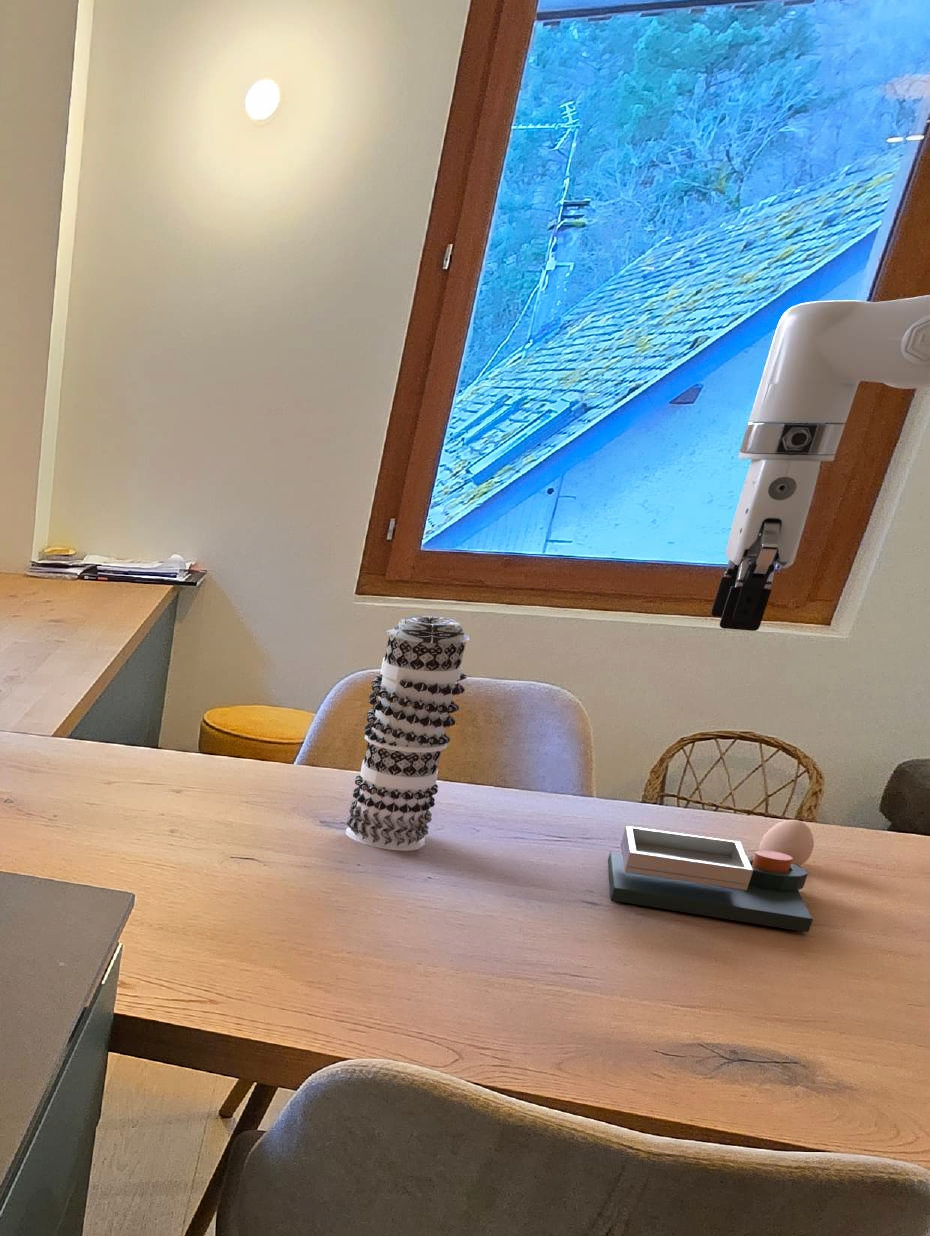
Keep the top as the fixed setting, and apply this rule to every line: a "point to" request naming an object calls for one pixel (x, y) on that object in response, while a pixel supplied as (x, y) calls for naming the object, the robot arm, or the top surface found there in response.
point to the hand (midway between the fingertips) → (733, 622)
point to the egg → (789, 840)
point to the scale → (719, 895)
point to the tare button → (772, 861)
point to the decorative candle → (407, 733)
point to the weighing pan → (686, 857)
